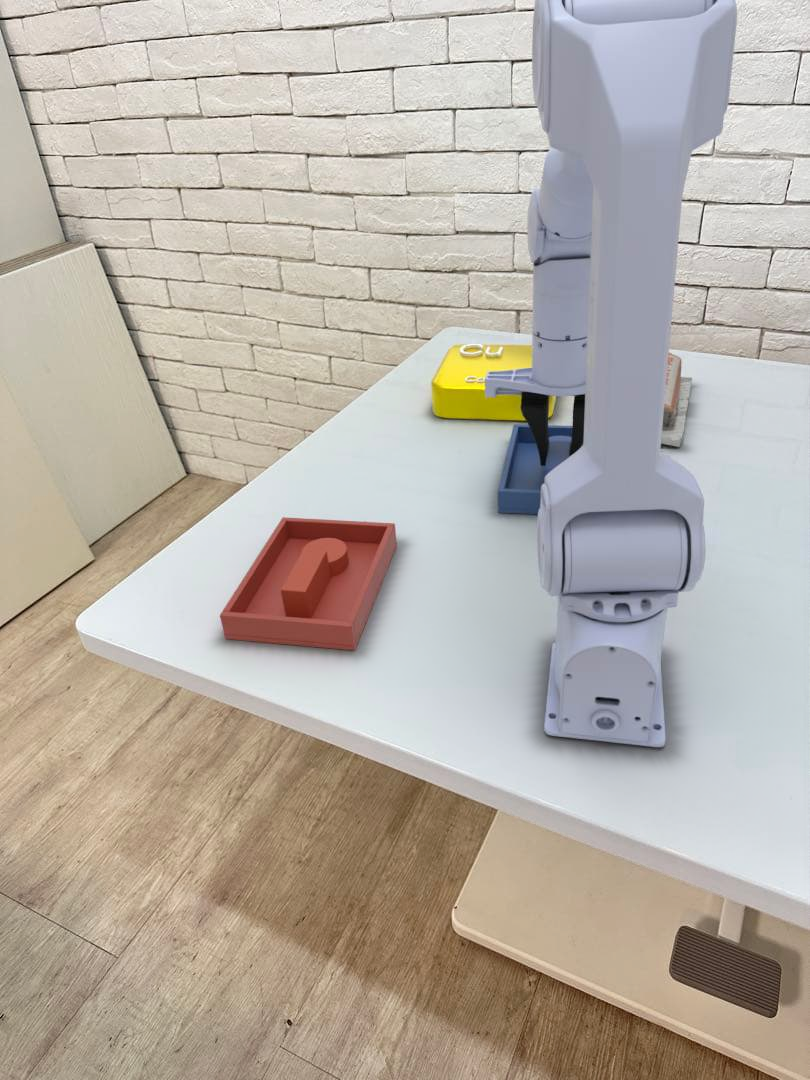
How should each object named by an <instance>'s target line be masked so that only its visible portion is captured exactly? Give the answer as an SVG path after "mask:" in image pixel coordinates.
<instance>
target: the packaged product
mask: <svg viewBox="0 0 810 1080" xmlns="http://www.w3.org/2000/svg"><path fill="white" fill-rule="evenodd" d="M692 378H693V377H687V376H686V377H685V376H682V358H681V357H680V356H678V355H675V354H673V353H672V352H669V356H668V367H667V379H666V391H665V402H664V414H663V426H662V437H661V445H667V446H673V447H678V448H680V446H681V443H682V439H683V434H684V430H685V425H686V418H687V410H688V407H689V398H690V395H691V388H692V382H693V379H692Z"/></svg>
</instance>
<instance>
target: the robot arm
mask: <svg viewBox="0 0 810 1080" xmlns="http://www.w3.org/2000/svg"><path fill="white" fill-rule="evenodd" d="M737 7H738V6H737V2H736V0H534V6H533V17H532V34H531V35H532V37H531V38H532V40H531V70H532V72H531V75H532V92H533V100H534V104H535V105H536V106H537V110H538V115H539V119H540V124H541V127H542V130H543V132H544V133H545V134H546V137H547V140H548V145H549V149H548V152H547V153H546V155H545V160H544V163H543V168H542V169H543V170H542V175H541V181H540V187H539V188H536V189H535V188H534V189H533V190H532V191H531V193H530V197H529V202H528V208H527V219H526V220H527V221H526V222H527V224H526V225H527V227H526V229H527V230H526V231H527V232H526V233H527V234H526V235H527V248H528V253H529V258H530V262H531V264H532V320H531V321H532V323H531V324H532V327H531V328H532V329H531V331H532V332H531V345H532V367H530V368H522V369H514V370H505V371H488V372H487V374H486V377H485V397H496V396H497V395H522V397H521V406H520V407H521V412H522V414H523V417H524V418H525V420H526V421H525V422H526V423H527V425H529V427H530V429H531V431H532V434H533V436H534V439H535V441H536V445H537V448H538V452H539V457H540V465H541V466H545V465H546V458H547V451H548V445H549V434H548V425H549V418H548V412H549V396H556V397H573V405H572V425H571V426H572V439H571V447H570V457H569V458H567V459H566V460H565V461H563V462H562V463H561V464H559V465H558V466H557V467H555V468H554V469H553V470H551V471H550V472H549V473H548V474H547V475H546V476H545V483H544V484H543V485H542V486H541V503H540V509H539V511H538V514H537V518H536V519H537V522H536V523H537V524H536V544H537V545H536V547H537V563H538V575H539V581H540V585H541V587H542V588H543V590H544V591H546V592H547V593H548V595H549V596H550V597H557V607H556V608H557V610H556V633H555V635H556V636H555V641H554V642H553V643H552V645H551V652H550V653H551V654H550V664H549V665H550V666H549V675H548V683H547V692H546V693H547V694H546V704H545V714H544V724H543V731H544V733H545V734H546V735H548V736H551V737H552V736H553V737H561V738H568V739H569V738H570V739H577V740H578V739H580V740H587V741H597V742H607V743H615V744H626V745H634V746H641V747H642V746H643V747H651V748H663V747H664V746H665V745H666V739H667V738H666V737H667V736H666V721H665V720H666V719H665V709H664V693H663V691H664V690H663V678H662V676H663V675H662V662H661V661H662V659H661V658H662V651H663V644H664V637H665V629H666V622H667V615H668V609H669V608H670V609H671V608H676V607H677V606H678V598H679V593H689V592H690V591H692V590H693V589H694V587H695V586H696V585H697V584H698V582H699V581H700V580H701V578H702V576H703V572H704V568H705V561H706V532H705V525H704V513H705V498H704V495H703V492H702V489H701V488H700V486H699V483H698V481H697V479H696V477H695V476H694V474H693V473H692V472H691V471H690V470H689V469H688V468H686V467H685V466H684V465H682V464H681V463H680V462H678V461H677V460H675V459H673V458H672V457H670V456H669V455H668V454H666V453H665V452H663V451H662V450H661V448H662V443H661V437H662V426H663V414H664V402H665V391H666V379H667V367H668V356H669V353H670V344H671V333H672V332H671V331H672V320H673V317H672V316H673V310H674V309H673V307H674V297H675V285H676V273H677V261H678V251H679V240H680V239H679V238H680V237H679V236H680V229H681V228H680V227H681V215H682V202H683V194H684V189H685V184H686V180H687V176H688V171H689V166H690V162H691V157H692V154H693V152H694V151H695V150H697V149H699V148H700V147H702V146H704V145H705V144H707V143H709V142H710V141H712V140H714V139H715V138H717V137H719V136H720V135H721V134H722V132H723V128H724V119H725V115H726V113H727V110H728V107H729V100H730V99H729V98H730V90H731V81H732V72H733V63H734V54H735V53H734V52H735V44H736V43H735V42H736V35H737V23H738V8H737ZM583 440H584V441H583ZM582 443H583V446H582V447H581V445H582Z"/></svg>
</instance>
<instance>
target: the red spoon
mask: <svg viewBox="0 0 810 1080" xmlns="http://www.w3.org/2000/svg"><path fill="white" fill-rule="evenodd" d="M348 564H349V559H348V552H347V546H346V544H345V543H344V542H343V541H341V540H339V539H335V538H321V539H317V540H314V541H311V542H310V543H308V544H306V545H305V546H304V547H303V549H302V551H301V555H300V556H299V558H298V560H297V562H296V564H295V565H294V567H293V569H292V571H291V572H290V574H289V576H288V578H287V579H286V581H285V583H284V585H283V586H282V588H281V595H282V600H283V605H284V610H285V615H286V617H297V618H309V619H311V617H312V615H313V613H314V611H315V609H316V607H317V605H318V603H319V601H320V599H321V597H322V595H323V593H324V591H325V589H326V587H327V585H328V583H329V581H330V579H331V576H335V575H337V574H339V573H341V572H343V571H344V570H345V569H346V568H347V566H348Z"/></svg>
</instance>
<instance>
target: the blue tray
mask: <svg viewBox="0 0 810 1080" xmlns="http://www.w3.org/2000/svg"><path fill="white" fill-rule="evenodd" d="M572 426H573V425H557V424H555V425H554V424H548V434H549V437H552V436H569V437H572ZM583 441H584V440H583ZM582 446H583V443H582V445H581V447H582ZM503 463H504V464H503V467H502V472H501V475H500V476H501V477H500V480H499V483H498V489H497V513H501V514H519V515H520V514H521V515H523V514H524V515H538V511H539V509H540V503H541V486H542V485H543V484H544V482H545V466H541V465H540V457H539V452H538V448H537V445H536V441H535V439H534V436H533V434H532V431H531V429H530V427H529V425H528V424H521V423H520V424H518V423H517V424H515V423H514V424H513V425H512V431H511V434H510V438H509V442H508V447H507V451H506V456H505V459H504V462H503Z"/></svg>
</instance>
